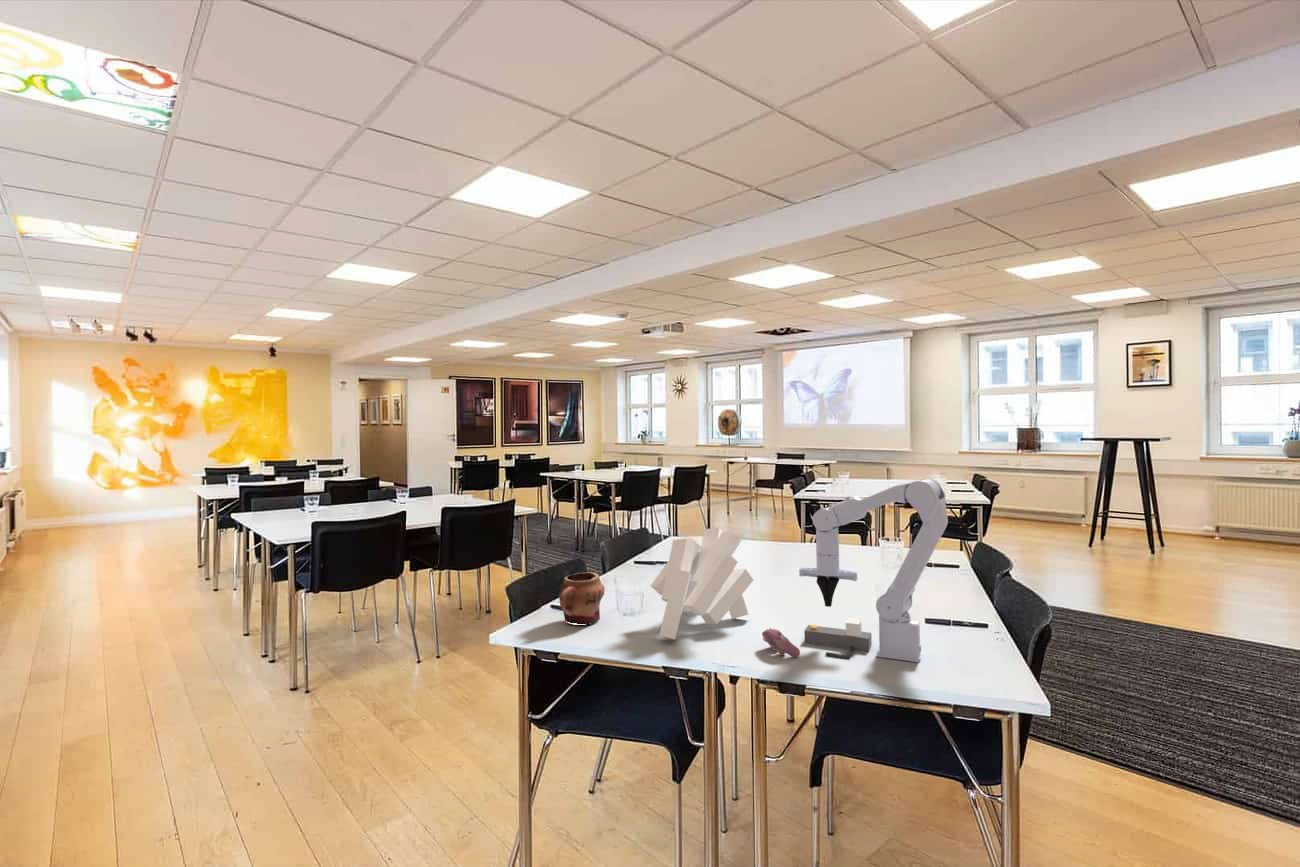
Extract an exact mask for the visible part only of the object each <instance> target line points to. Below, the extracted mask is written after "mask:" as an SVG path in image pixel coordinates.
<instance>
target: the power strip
mask: <svg viewBox="0 0 1300 867" xmlns="http://www.w3.org/2000/svg"><path fill="white" fill-rule="evenodd" d="M803 633H804V643H805V642H808V643H807V644H810V643H815V644H814V645H817V644H821V645H820V646H825V645H828V647H832V646H835V648H840V647H842V649H847V648H849V650H848V652H847V654H842V653H834V652H825V655H826V656H827V657H833V656H834V658H841V659H846V660H847V659H848V658H849V659H850V658H851V656H852V653H853V651H854V649H856V651H862V650H863V652H870V650H871V648H872V641H873V640H872V632H870V631H868V632H867V631H862V619H859V618H852V617H848V618H847V620H846V621H845V629H844V628H835V627H827V626H820V625H815V624H808V625H807V626H806V628H805V629H804V632H803Z"/></svg>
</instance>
